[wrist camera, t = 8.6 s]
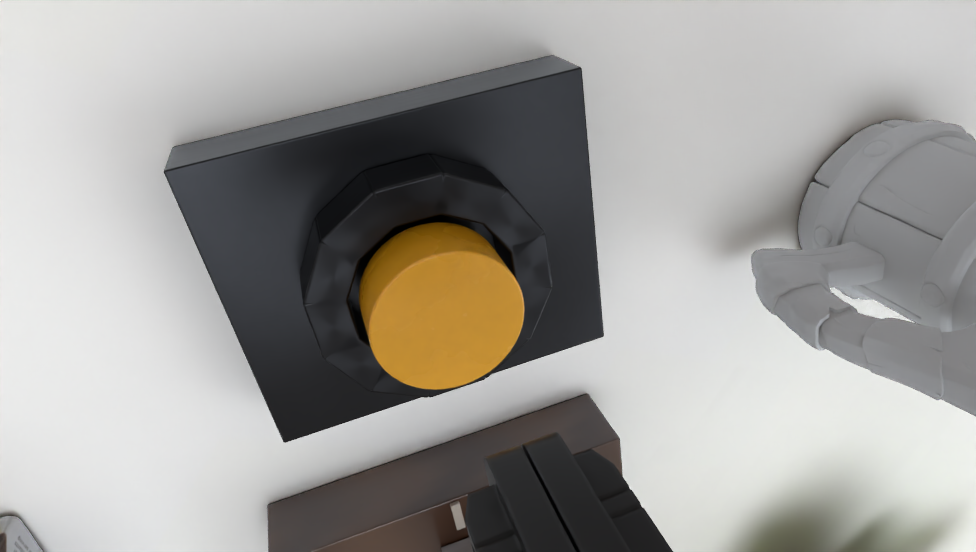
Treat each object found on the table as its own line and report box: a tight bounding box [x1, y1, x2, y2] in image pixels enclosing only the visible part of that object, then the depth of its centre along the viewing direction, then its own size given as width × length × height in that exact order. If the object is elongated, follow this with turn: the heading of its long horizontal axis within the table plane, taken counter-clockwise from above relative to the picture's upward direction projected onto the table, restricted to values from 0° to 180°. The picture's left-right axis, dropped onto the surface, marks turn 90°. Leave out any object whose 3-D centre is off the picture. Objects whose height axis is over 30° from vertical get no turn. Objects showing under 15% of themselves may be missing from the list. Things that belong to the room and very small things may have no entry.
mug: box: [751, 120, 976, 416], centre depth 23 cm, size 8×12×12 cm, turn 102°
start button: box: [359, 222, 525, 390], centre depth 19 cm, size 4×4×2 cm
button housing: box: [164, 55, 604, 442], centre depth 21 cm, size 12×10×4 cm
